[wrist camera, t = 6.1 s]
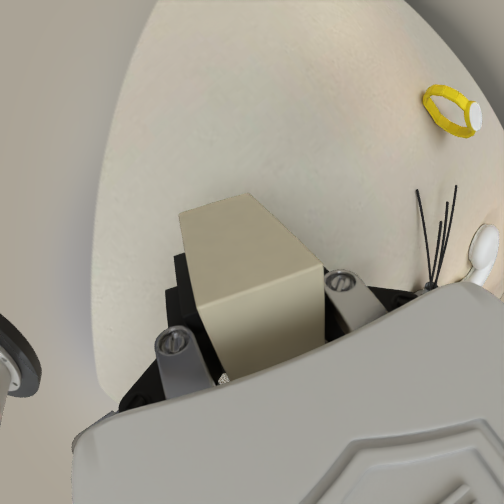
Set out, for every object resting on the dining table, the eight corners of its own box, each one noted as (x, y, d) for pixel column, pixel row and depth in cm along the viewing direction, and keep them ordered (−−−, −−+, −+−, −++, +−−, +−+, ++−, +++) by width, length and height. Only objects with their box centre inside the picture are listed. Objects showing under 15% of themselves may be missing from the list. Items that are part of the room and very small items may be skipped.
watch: (445, 119, 21) (489, 131, 16) (436, 136, 22) (481, 150, 17) (421, 78, 18) (470, 83, 13) (411, 95, 19) (461, 102, 14)
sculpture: (493, 238, 36) (522, 258, 29) (455, 303, 40) (482, 327, 34) (482, 210, 30) (519, 232, 24) (437, 290, 35) (471, 319, 28)
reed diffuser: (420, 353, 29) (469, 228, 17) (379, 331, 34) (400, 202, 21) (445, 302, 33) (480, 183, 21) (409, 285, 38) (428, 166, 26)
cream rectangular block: (215, 319, 14) (250, 420, 9) (177, 212, 11) (195, 308, 6) (270, 300, 14) (324, 391, 9) (248, 191, 11) (325, 263, 6)
